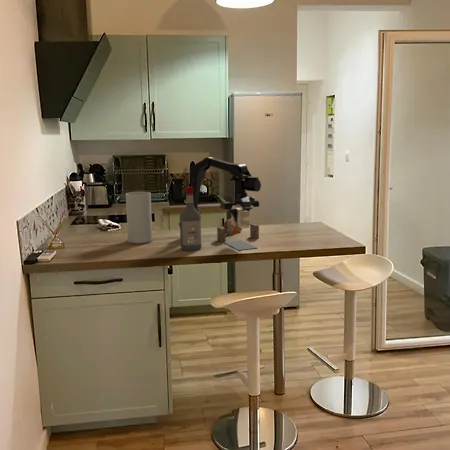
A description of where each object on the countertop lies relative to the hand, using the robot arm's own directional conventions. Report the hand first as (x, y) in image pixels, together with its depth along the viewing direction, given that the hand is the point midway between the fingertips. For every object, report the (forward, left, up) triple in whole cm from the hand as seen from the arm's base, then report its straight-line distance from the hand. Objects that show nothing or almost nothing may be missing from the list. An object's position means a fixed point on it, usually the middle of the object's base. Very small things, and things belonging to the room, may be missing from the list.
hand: (240, 221), depth 257 cm
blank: (0, 0, -2) cm, 2 cm away
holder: (+5, +13, -12) cm, 18 cm away
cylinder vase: (-42, +32, -12) cm, 54 cm away
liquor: (-24, +5, -12) cm, 27 cm away
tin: (+9, +28, -12) cm, 32 cm away
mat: (0, 0, -12) cm, 12 cm away
